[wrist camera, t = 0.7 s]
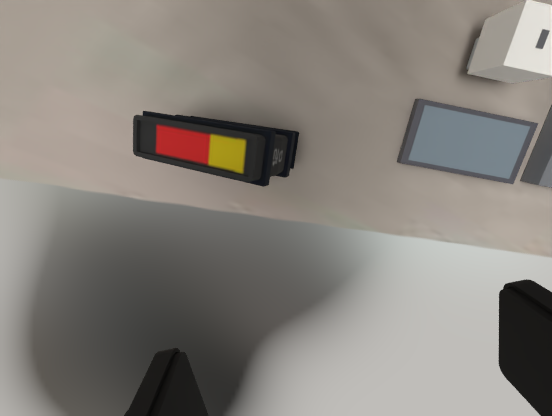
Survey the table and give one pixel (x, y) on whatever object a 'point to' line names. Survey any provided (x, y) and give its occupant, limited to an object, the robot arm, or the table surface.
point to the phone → (465, 141)
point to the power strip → (541, 157)
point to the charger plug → (515, 44)
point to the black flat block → (215, 146)
